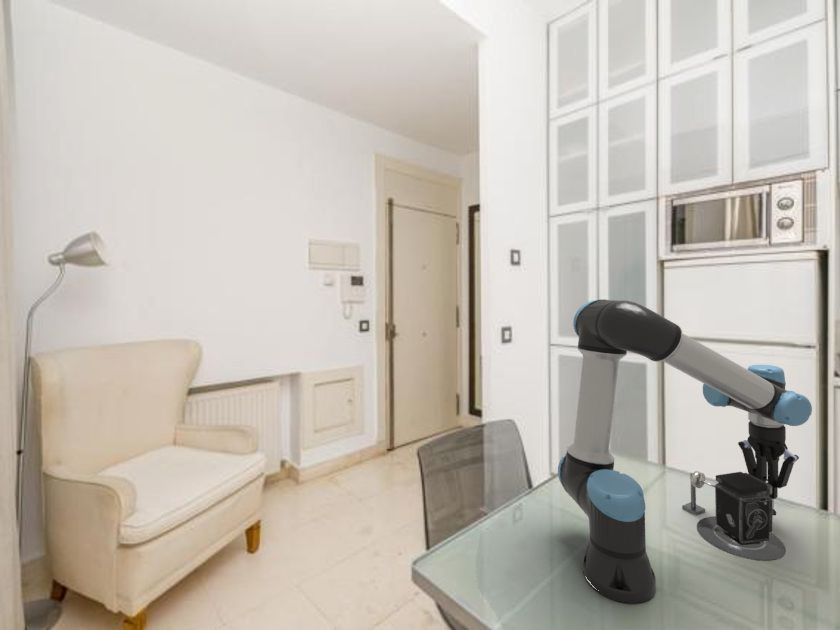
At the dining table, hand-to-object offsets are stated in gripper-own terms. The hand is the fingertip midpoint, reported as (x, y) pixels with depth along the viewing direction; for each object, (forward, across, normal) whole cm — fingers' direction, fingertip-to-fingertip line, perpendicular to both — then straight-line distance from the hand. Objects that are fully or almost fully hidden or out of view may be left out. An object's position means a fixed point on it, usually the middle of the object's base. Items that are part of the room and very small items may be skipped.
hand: (767, 507), depth 108 cm
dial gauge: (+5, +11, +10) cm, 16 cm away
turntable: (+5, 0, +12) cm, 13 cm away
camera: (+4, 0, +10) cm, 11 cm away
